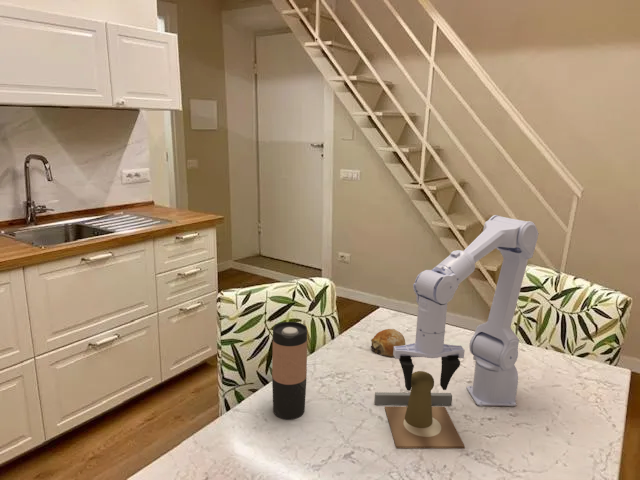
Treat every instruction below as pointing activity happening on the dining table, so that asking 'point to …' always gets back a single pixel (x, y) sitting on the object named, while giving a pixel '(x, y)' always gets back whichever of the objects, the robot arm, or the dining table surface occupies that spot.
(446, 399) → the low wall
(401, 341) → the bread roll
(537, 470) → the dining table surface
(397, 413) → the walnut board
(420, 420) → the cork
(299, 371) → the travel mug
